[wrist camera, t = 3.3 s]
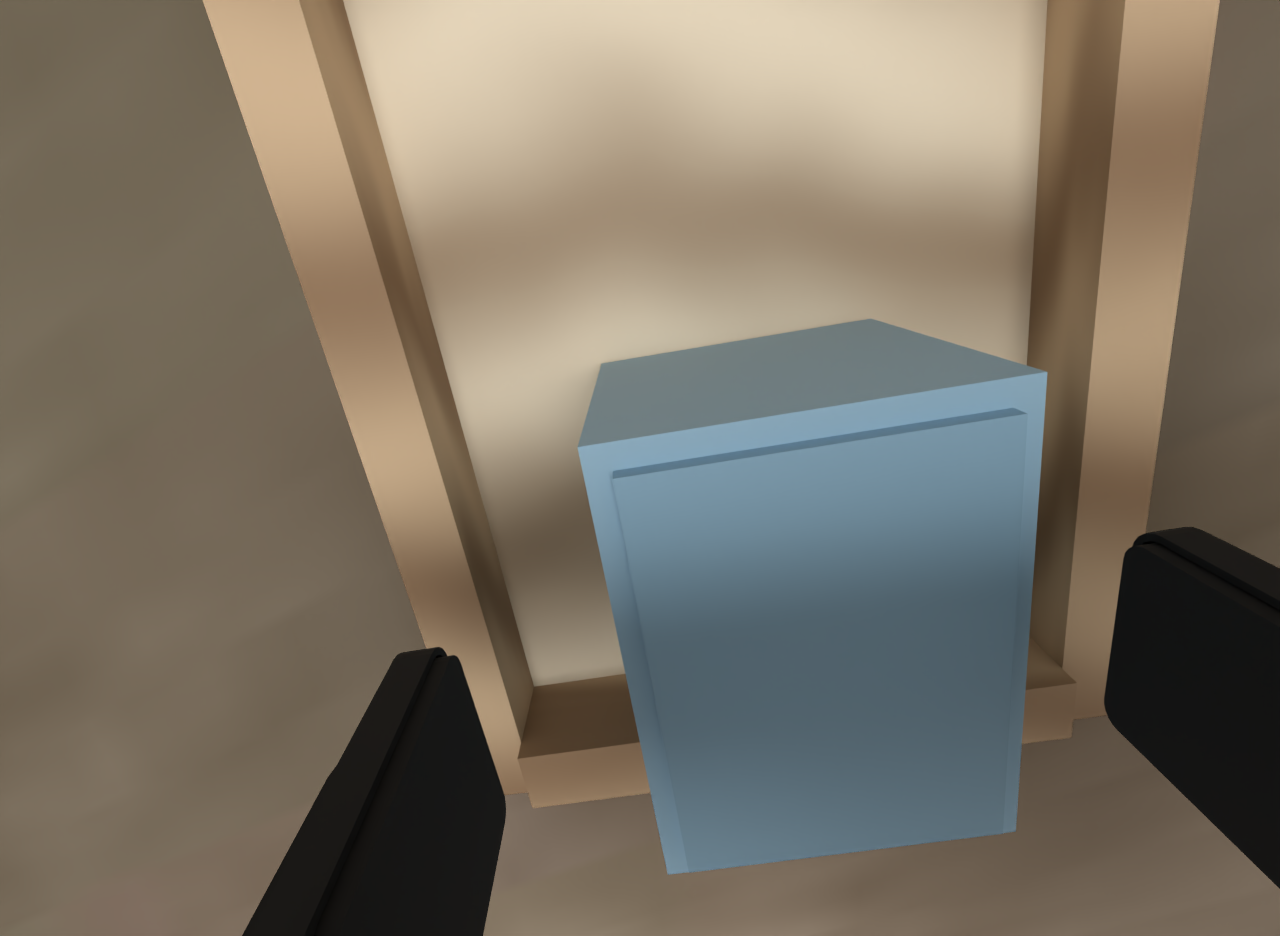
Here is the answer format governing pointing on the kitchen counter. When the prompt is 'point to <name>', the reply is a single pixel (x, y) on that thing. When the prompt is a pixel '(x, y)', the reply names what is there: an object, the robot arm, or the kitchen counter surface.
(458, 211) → the tray
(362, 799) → the robot arm
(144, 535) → the kitchen counter surface
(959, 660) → the light blue block
